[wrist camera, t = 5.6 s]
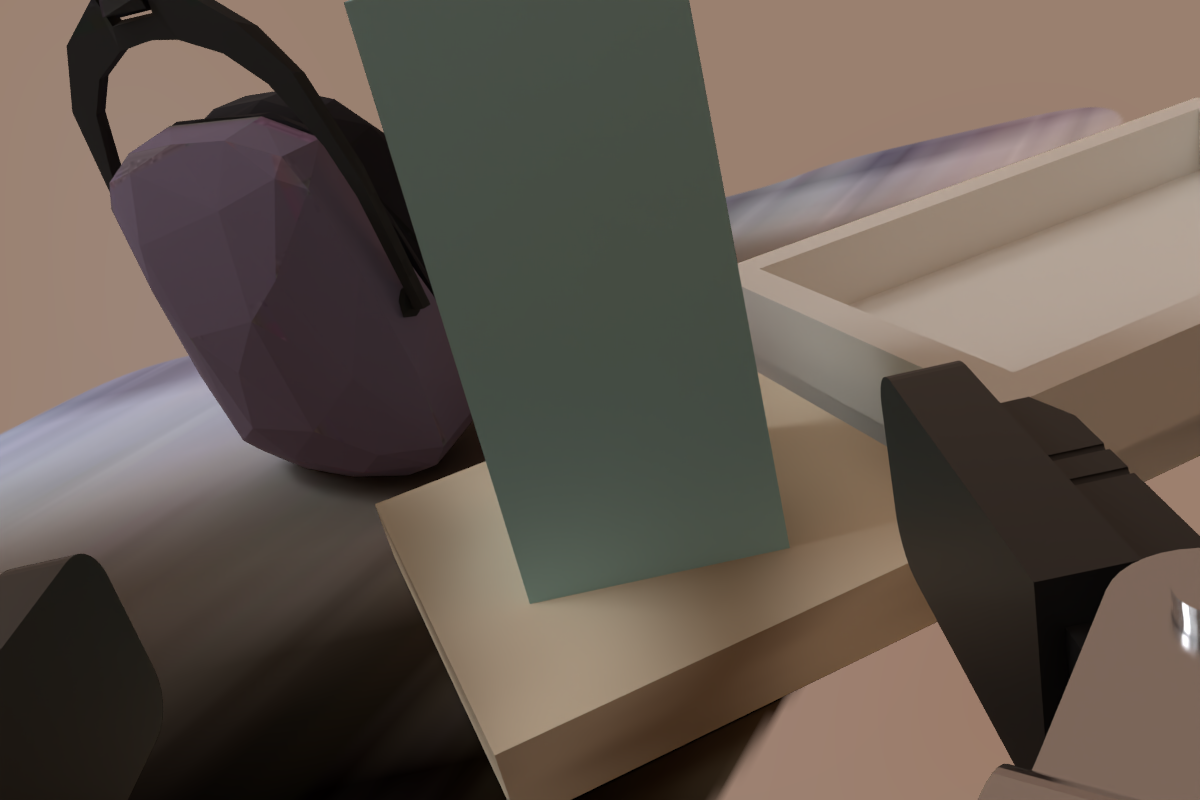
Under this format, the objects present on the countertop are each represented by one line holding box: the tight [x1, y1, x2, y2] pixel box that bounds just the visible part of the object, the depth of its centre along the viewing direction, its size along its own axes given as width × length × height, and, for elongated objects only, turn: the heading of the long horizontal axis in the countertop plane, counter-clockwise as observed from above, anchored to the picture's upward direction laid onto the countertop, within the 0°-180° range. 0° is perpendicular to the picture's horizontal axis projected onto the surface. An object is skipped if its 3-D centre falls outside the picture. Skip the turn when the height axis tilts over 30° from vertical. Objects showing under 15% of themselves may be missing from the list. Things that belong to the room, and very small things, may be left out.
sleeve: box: [344, 0, 790, 604], centre depth 20 cm, size 5×5×11 cm
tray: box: [737, 98, 1200, 482], centre depth 28 cm, size 18×12×3 cm, turn 113°
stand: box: [375, 372, 938, 800], centre depth 21 cm, size 10×10×10 cm
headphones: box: [67, 0, 473, 477], centre depth 32 cm, size 9×17×20 cm, turn 150°
